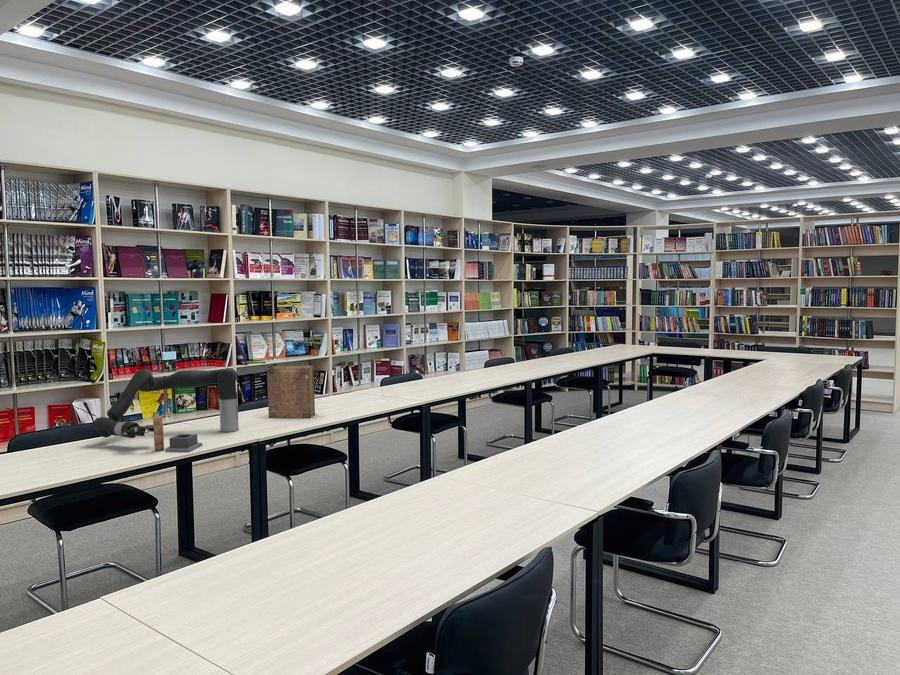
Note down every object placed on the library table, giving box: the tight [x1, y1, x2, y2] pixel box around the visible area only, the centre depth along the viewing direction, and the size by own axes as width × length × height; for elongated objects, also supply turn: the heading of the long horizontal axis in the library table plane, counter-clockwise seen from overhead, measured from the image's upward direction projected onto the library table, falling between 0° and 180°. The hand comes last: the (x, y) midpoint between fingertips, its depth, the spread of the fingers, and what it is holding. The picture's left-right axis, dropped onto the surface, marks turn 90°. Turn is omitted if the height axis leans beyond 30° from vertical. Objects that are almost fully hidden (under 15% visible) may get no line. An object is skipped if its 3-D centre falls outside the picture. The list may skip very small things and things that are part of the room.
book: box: [266, 365, 316, 419], centre depth 377 cm, size 25×9×30 cm, turn 82°
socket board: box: [164, 433, 203, 453], centre depth 303 cm, size 12×12×6 cm
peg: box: [152, 415, 165, 453], centre depth 299 cm, size 4×4×16 cm
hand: (151, 431), depth 300 cm, fingers open, 8 cm apart
